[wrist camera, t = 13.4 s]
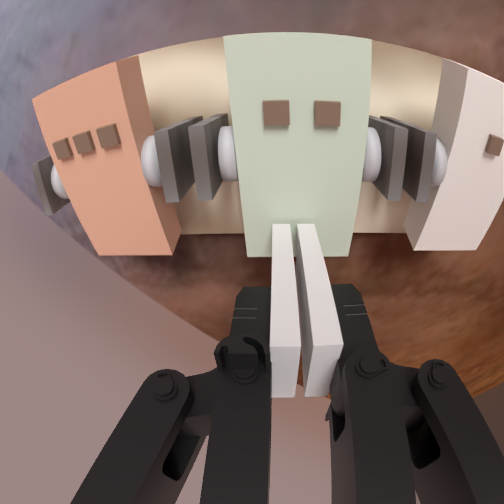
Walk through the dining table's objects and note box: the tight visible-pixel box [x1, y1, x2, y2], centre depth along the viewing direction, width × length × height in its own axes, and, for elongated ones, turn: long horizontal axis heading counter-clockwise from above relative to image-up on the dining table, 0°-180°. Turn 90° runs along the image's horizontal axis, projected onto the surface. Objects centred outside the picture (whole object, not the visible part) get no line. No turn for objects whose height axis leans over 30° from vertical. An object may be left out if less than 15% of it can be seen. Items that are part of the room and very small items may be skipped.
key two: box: [218, 32, 381, 257], centre depth 11 cm, size 10×6×2 cm, turn 4°
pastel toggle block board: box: [31, 37, 504, 235], centre depth 12 cm, size 12×27×6 cm, turn 93°
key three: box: [32, 55, 182, 255], centre depth 12 cm, size 10×6×2 cm, turn 4°
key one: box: [403, 58, 504, 251], centre depth 10 cm, size 10×6×2 cm, turn 4°
